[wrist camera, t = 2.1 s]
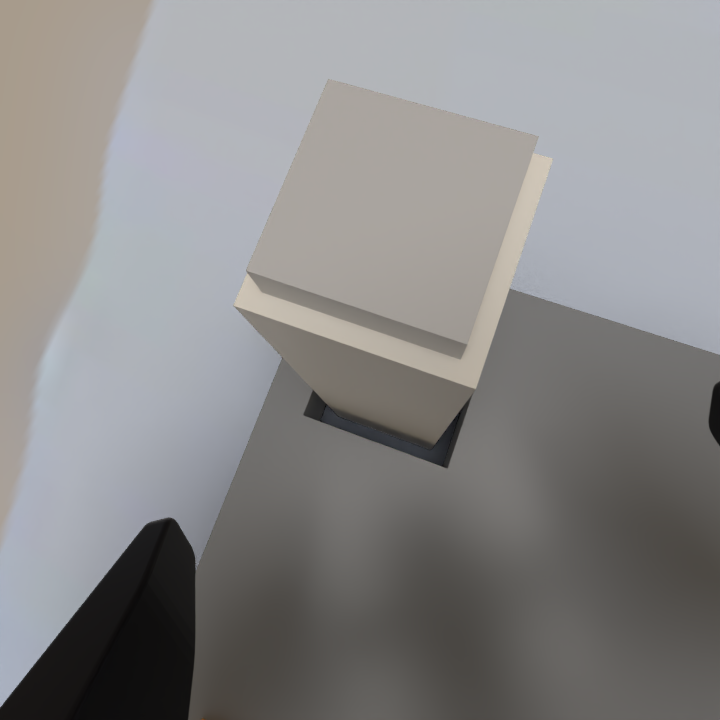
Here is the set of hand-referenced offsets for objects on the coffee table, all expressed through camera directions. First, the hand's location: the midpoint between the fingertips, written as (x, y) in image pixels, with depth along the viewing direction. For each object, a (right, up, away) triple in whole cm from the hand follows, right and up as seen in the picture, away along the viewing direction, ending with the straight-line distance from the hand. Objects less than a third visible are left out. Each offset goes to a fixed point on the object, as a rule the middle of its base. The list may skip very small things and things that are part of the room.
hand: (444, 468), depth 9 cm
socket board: (+2, -6, +9) cm, 11 cm away
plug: (0, +1, +11) cm, 11 cm away
